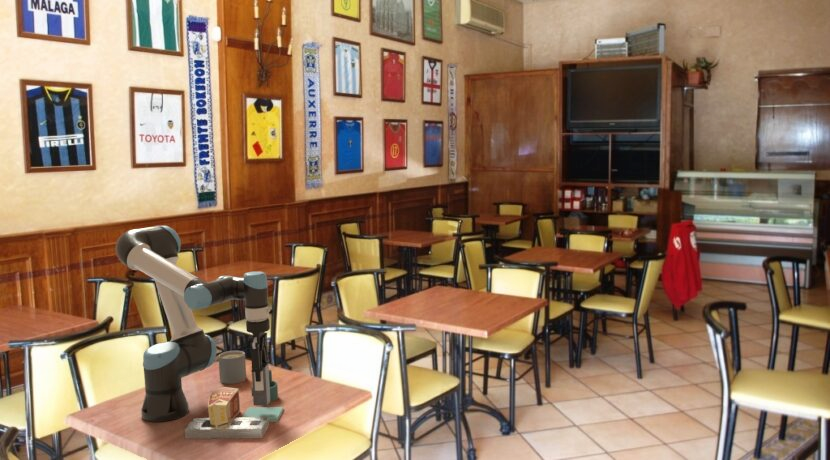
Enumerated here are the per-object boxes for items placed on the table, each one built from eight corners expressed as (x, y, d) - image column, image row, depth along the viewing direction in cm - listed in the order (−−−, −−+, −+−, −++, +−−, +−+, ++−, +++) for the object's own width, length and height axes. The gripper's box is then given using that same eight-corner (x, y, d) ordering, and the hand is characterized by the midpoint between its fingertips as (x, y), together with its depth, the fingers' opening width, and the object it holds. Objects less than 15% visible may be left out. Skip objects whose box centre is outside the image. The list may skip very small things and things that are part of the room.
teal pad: (240, 422, 227) (240, 419, 227) (248, 410, 237) (248, 407, 237) (277, 421, 227) (276, 418, 227) (283, 409, 237) (283, 407, 237)
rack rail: (185, 438, 215) (184, 429, 215) (194, 426, 224) (194, 417, 224) (261, 438, 215) (261, 428, 214) (268, 426, 224) (268, 416, 223)
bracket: (271, 392, 254) (270, 368, 253) (282, 399, 247) (281, 375, 246) (248, 398, 249) (246, 374, 248) (258, 405, 241) (257, 380, 240)
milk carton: (240, 411, 236) (232, 432, 217) (212, 413, 235) (201, 435, 215) (238, 385, 236) (229, 403, 216) (210, 387, 235) (199, 406, 215)
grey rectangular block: (253, 405, 229) (251, 367, 228) (257, 400, 234) (255, 363, 232) (267, 405, 229) (265, 367, 227) (270, 400, 234) (268, 362, 232)
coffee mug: (239, 384, 263) (237, 359, 261) (215, 383, 265) (213, 357, 263) (254, 372, 276) (253, 348, 274) (231, 371, 278) (229, 347, 276)
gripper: (262, 325, 219) (266, 396, 222) (274, 312, 236) (278, 378, 239) (238, 326, 219) (243, 397, 222) (253, 312, 237) (256, 378, 240)
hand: (261, 387), depth 231 cm, fingers closed on grey rectangular block, 4 cm apart
